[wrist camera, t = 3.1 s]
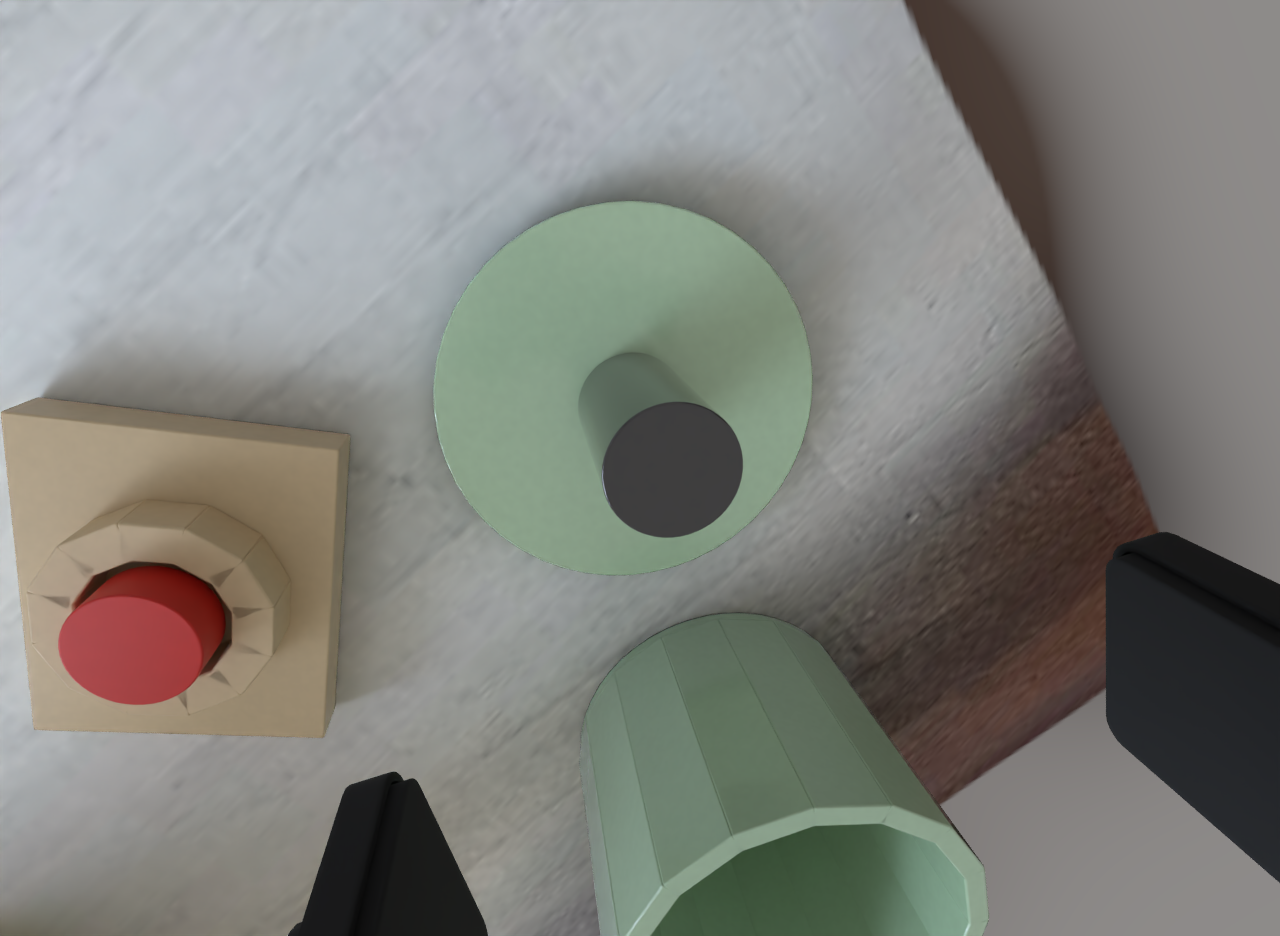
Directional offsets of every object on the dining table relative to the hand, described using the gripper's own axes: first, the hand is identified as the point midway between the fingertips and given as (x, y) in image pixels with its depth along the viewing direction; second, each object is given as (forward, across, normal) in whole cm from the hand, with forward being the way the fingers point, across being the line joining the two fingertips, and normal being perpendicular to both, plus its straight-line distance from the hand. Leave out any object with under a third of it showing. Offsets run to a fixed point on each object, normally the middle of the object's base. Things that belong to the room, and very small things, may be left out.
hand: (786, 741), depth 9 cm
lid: (+16, 0, -1) cm, 16 cm away
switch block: (+16, +15, +1) cm, 22 cm away
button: (+13, +15, +1) cm, 20 cm away
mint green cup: (+17, 0, +15) cm, 23 cm away
